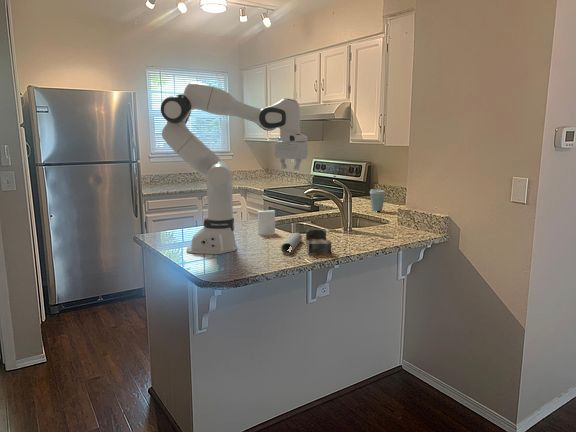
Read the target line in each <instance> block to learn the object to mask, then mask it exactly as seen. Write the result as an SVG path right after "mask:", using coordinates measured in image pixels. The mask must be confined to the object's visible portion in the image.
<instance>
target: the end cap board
mask: <svg viewBox="0 0 576 432" xmlns="http://www.w3.org/2000/svg"><path fill="white" fill-rule="evenodd" d="M305 234H306V235H305V244H307V245H306V248H307V255H308V256H332V253H333V252H332V243H331V240H327V231H326V229H324V228H322V229H316V228H315V229H305Z"/></svg>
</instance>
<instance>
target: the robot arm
mask: <svg viewBox="0 0 576 432" xmlns="http://www.w3.org/2000/svg"><path fill="white" fill-rule="evenodd" d="M194 110H197V111H198V110H199V111H203V112H205V113H209V114H211V115H218V116H227V117H229V116H230V117H236V118H237V117H238V118H241V119H244V120H246V121H250V122H252V123H255V124H256V125H257V126H258V127H260V128H261V129H263V130H264V131H267V132H268V131H269V132H270V131H271V132H272V131H274V130H276V129H277V128H278V129H279V137H277V139H276V141H275V144H274V157H275V159H279V162H280V164H281V165H280V166H281V169H283V170H284V169H287V165H288V164H286V159H290V160H294V161H295V164H294V165H293V169H294V171H295V170H297V171H299V170H300V166H301V163H302V160H306V159H307V158H308V152H309V148H308V141H309V140H308V135H305V134H303V133H301V128H300V123H301V122H300V121H301V108H300V103H299V102H298V101H297V100H295V99H291V98H281V100H279V101H278V102H276V103H274V104H272V105H269V106H266V107H264V108H257V107H255V106H252V105H249V104H246V103H243V102H241V101H239V100H237V99H236V98H235V97H234V96H233V95H231V93H229V92H227V91H226V90H224V89H223V88H219V87H217V86H213V85H212V84H211V85H210V84H208V83H202V82H194V81H191V82H190V83H188V84H187V85H186V87H185V89H184V92H183V93H180V94H175V95H170V96H167V97H166V98H164V99H163V100H162V102H161V105H160V114H161V115H162V117H163V118H164V120H165V121H166V125H164V127H163V128H162V131H161V137H162V139H163V140H164V141H165V143H166V144H167V145H168V146H169V148H171V149H172V151H173V152H174V153H175V154H177V155H178V157H180V158H181V159H182V160H183V161H184V162H185V163H186V164H187V165H189V166H190V168H192V169H194V170H195V171H196V172H197V173H199V175H201V176H202V177H203V178H205V180H206V182H205V183H206V200H207V217H205V218H204V219H203V227H202V228H201V229H200V230H199V231H197V232H196V233H195V234H194V235H193V236H192V238H191V244H190V245H188V246H187V247H186V253H188V254H207V255H222V254H226V253H231V252H234V251H236V250H238V246H237V242H236V237H235V219H234V214H233V213H234V210H233V209H234V208H233V207H234V205H233V172H232V170H231V168H230V167H229V165H228V164H227V163H225V161H224V160H222V159H221V158H220V157H219V156H218V155H217V154H216V153H215V152H214V151H212V150H211V148H209V147H208V146H207V145H206V144H205V143H204V142H203V141H201V140H200V138H199V137H197V135H195V134H194V133H193V132H192V131H191V130H190V129H189V128H188V127H187V125H186V124H187V123H188V120H189V118H190V116H191V114H192V111H194Z"/></svg>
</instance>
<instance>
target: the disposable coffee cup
mask: <svg viewBox="0 0 576 432" xmlns="http://www.w3.org/2000/svg"><path fill="white" fill-rule="evenodd" d="M369 194H370V204H371V210H372V212H373V211H382V212H383V207H384V202H385V196H386V190H383V189H378V188H371V189H370V190H369Z"/></svg>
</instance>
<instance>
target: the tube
mask: <svg viewBox="0 0 576 432" xmlns="http://www.w3.org/2000/svg"><path fill="white" fill-rule="evenodd" d="M302 239H303V238H302V235H301V234H300V232H294V233H292V234H291V235H290V237H288V239H287V240H286V241H284V243H283V244H282V245H281V247H280V248H281V249H280V251H281V252H282V254H283V255H290V254H292V253H293V252H294V250H295V249H296V247H297V246H298V245H299V244H300V243H301V241H302ZM290 246H291V247H292V250H291V252H289V251H287V250H288V249H289V247H290Z"/></svg>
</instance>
